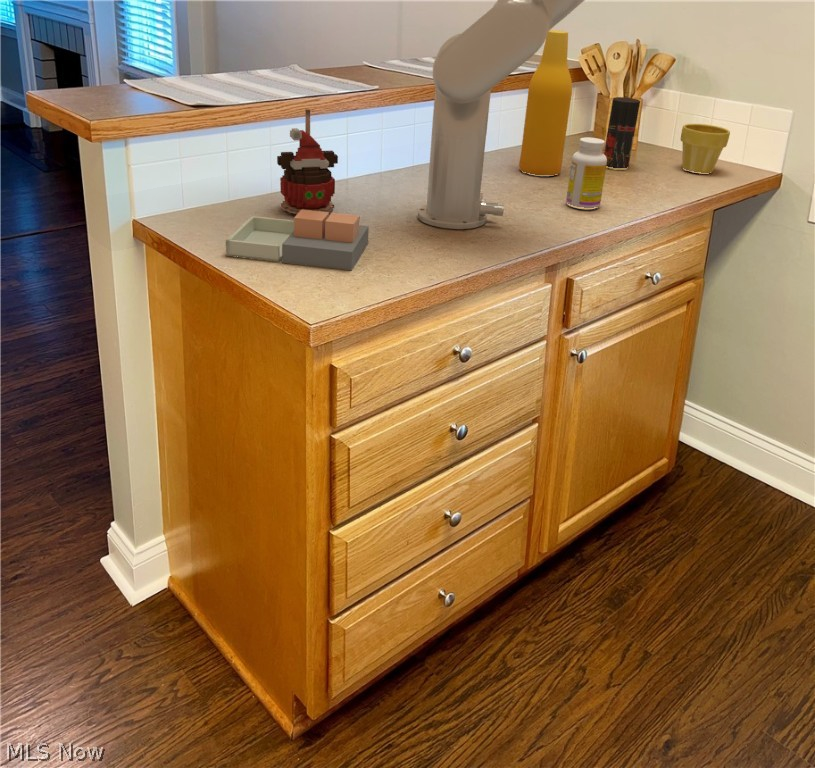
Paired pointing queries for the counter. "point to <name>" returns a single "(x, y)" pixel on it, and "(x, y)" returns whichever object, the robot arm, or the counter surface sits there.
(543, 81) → the beer bottle
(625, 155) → the deodorant
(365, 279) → the counter surface
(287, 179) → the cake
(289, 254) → the slate board
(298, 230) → the tile
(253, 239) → the sage bin
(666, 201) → the counter surface
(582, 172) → the supplement bottle
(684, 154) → the plant pot
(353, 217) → the tile
